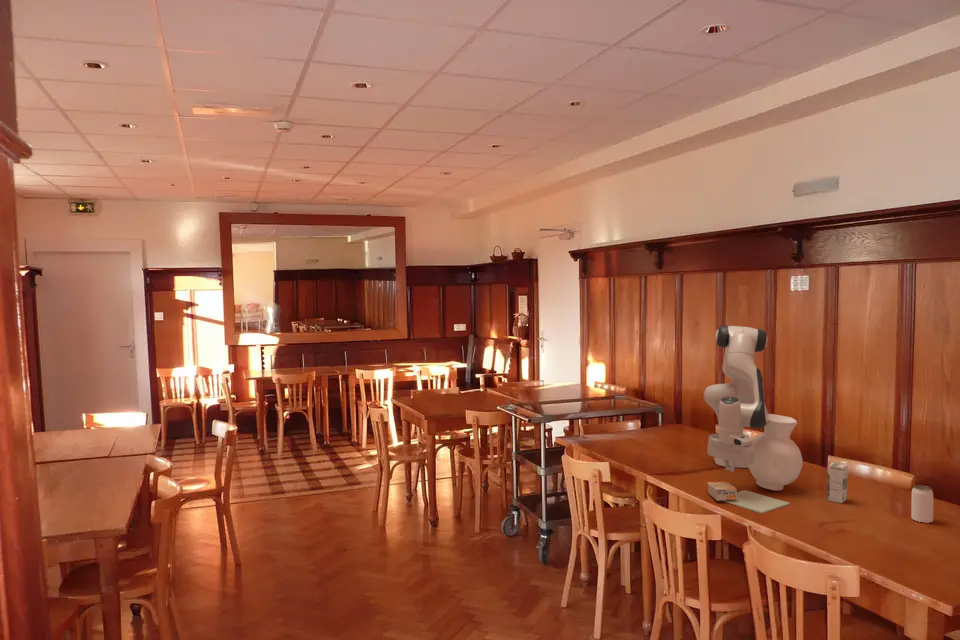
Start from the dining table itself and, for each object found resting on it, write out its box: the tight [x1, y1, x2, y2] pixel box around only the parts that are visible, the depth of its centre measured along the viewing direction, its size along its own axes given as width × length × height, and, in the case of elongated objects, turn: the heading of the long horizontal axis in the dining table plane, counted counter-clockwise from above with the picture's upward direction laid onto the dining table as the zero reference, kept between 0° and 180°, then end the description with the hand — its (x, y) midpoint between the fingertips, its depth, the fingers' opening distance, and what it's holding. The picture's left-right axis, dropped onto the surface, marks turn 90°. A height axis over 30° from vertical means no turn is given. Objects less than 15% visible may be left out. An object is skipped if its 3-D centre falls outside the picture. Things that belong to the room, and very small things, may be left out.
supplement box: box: [706, 480, 738, 502], centre depth 263 cm, size 8×5×13 cm
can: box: [910, 484, 934, 524], centre depth 233 cm, size 6×6×12 cm
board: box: [723, 489, 791, 514], centre depth 257 cm, size 18×20×1 cm
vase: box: [747, 413, 804, 492], centre depth 272 cm, size 19×21×30 cm
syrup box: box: [826, 462, 849, 504], centre depth 256 cm, size 6×6×14 cm
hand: (730, 470), depth 265 cm, fingers closed
